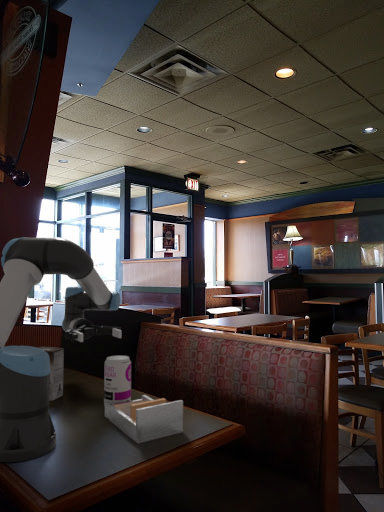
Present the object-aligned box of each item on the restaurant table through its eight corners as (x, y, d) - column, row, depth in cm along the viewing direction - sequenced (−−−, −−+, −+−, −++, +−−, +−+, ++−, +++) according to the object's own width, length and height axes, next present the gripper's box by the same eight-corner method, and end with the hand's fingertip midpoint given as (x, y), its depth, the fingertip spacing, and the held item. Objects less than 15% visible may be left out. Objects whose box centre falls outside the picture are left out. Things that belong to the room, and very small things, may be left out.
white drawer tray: (104, 416, 115) (104, 388, 116) (145, 407, 122) (145, 381, 123) (137, 443, 97) (137, 410, 97) (182, 431, 104) (183, 400, 104)
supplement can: (133, 402, 128) (133, 355, 128) (126, 411, 119) (127, 360, 120) (108, 401, 128) (109, 354, 129) (100, 410, 120) (100, 360, 121)
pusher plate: (130, 426, 104) (130, 404, 104) (163, 419, 110) (163, 398, 110) (132, 428, 103) (132, 405, 103) (165, 420, 109) (165, 399, 109)
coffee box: (28, 398, 131) (29, 349, 132) (40, 393, 137) (41, 346, 138) (52, 401, 129) (53, 351, 130) (64, 395, 135) (64, 347, 136)
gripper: (112, 335, 160) (135, 343, 142) (48, 341, 146) (64, 351, 129) (112, 316, 160) (135, 322, 143) (48, 320, 147) (64, 327, 129)
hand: (101, 336), depth 136 cm, fingers open, 13 cm apart
